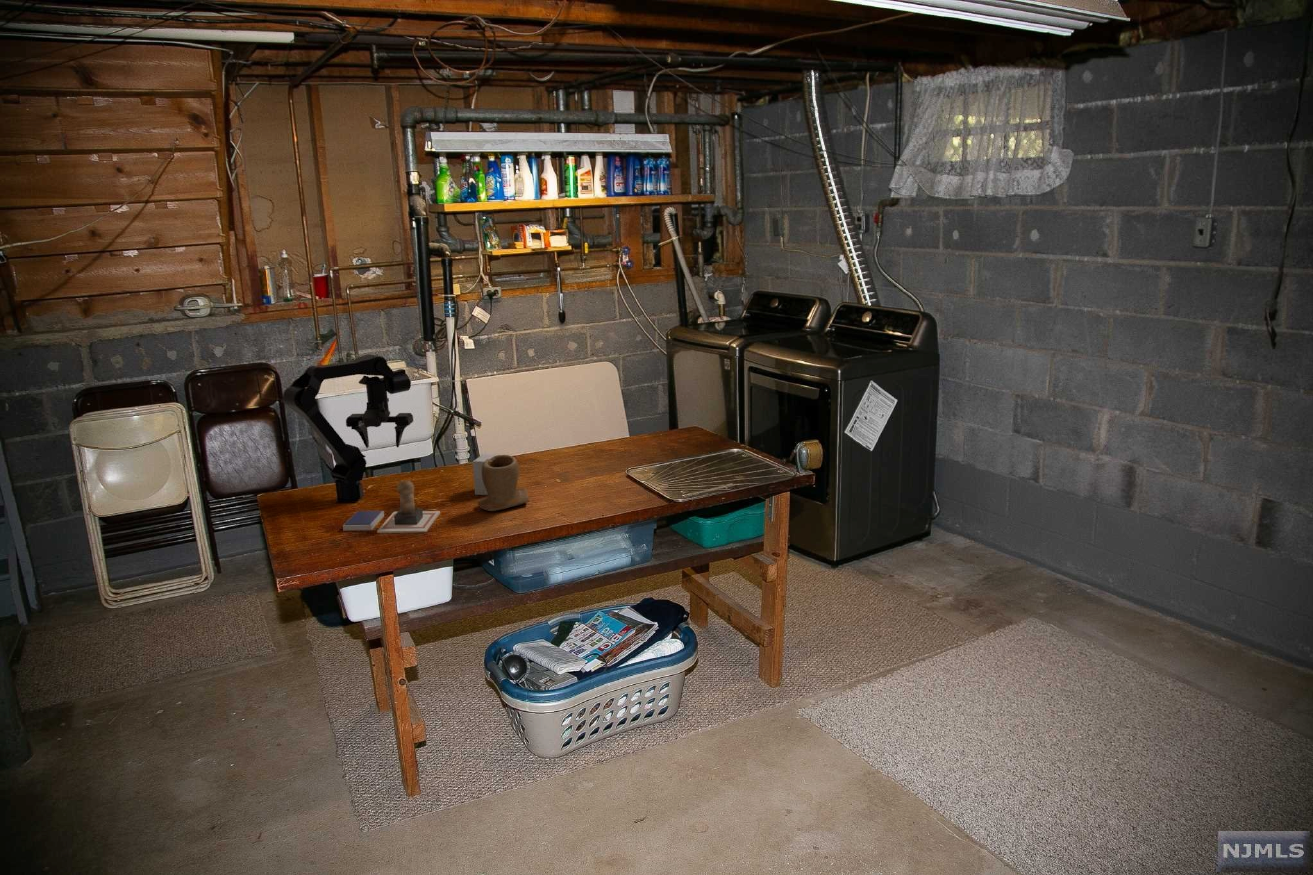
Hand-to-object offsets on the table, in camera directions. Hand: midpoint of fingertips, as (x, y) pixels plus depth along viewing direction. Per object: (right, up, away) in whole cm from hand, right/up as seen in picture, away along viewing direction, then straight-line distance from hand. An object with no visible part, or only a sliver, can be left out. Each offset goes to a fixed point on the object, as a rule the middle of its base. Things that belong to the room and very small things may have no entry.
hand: (382, 447), depth 274 cm
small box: (+32, -13, -1) cm, 35 cm away
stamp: (+15, -20, -26) cm, 36 cm away
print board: (+15, -20, -26) cm, 36 cm away
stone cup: (+40, -17, -15) cm, 46 cm away
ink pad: (+3, -20, -26) cm, 33 cm away
